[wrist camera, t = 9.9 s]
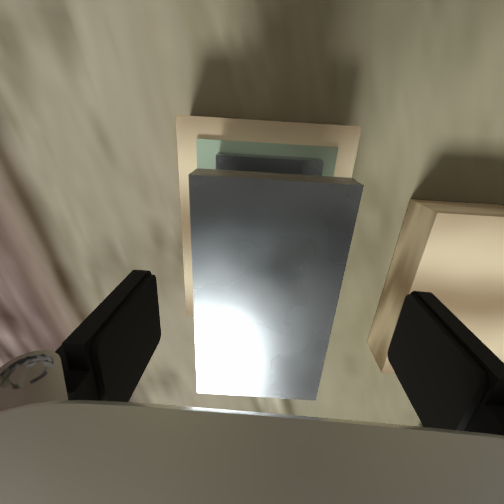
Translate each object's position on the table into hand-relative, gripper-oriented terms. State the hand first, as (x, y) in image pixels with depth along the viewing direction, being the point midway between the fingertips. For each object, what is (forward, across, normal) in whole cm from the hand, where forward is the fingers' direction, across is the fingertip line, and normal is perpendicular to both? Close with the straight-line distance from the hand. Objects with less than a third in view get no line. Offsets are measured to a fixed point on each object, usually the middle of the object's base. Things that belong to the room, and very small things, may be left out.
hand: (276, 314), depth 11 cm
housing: (+6, +1, -1) cm, 6 cm away
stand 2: (+10, -13, +3) cm, 17 cm away
